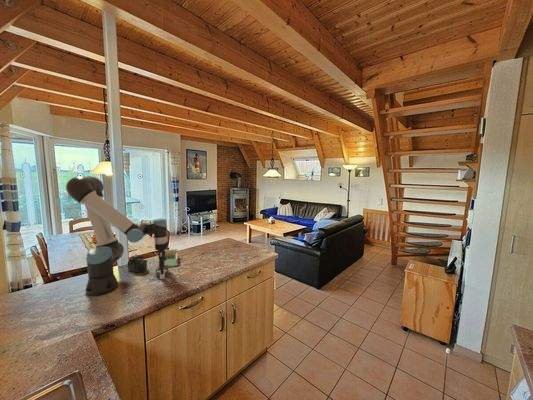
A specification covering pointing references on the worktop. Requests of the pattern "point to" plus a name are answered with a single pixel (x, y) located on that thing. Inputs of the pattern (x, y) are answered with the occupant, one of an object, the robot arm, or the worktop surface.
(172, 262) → the header
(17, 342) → the worktop surface
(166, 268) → the plug
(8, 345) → the worktop surface
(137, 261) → the camera
